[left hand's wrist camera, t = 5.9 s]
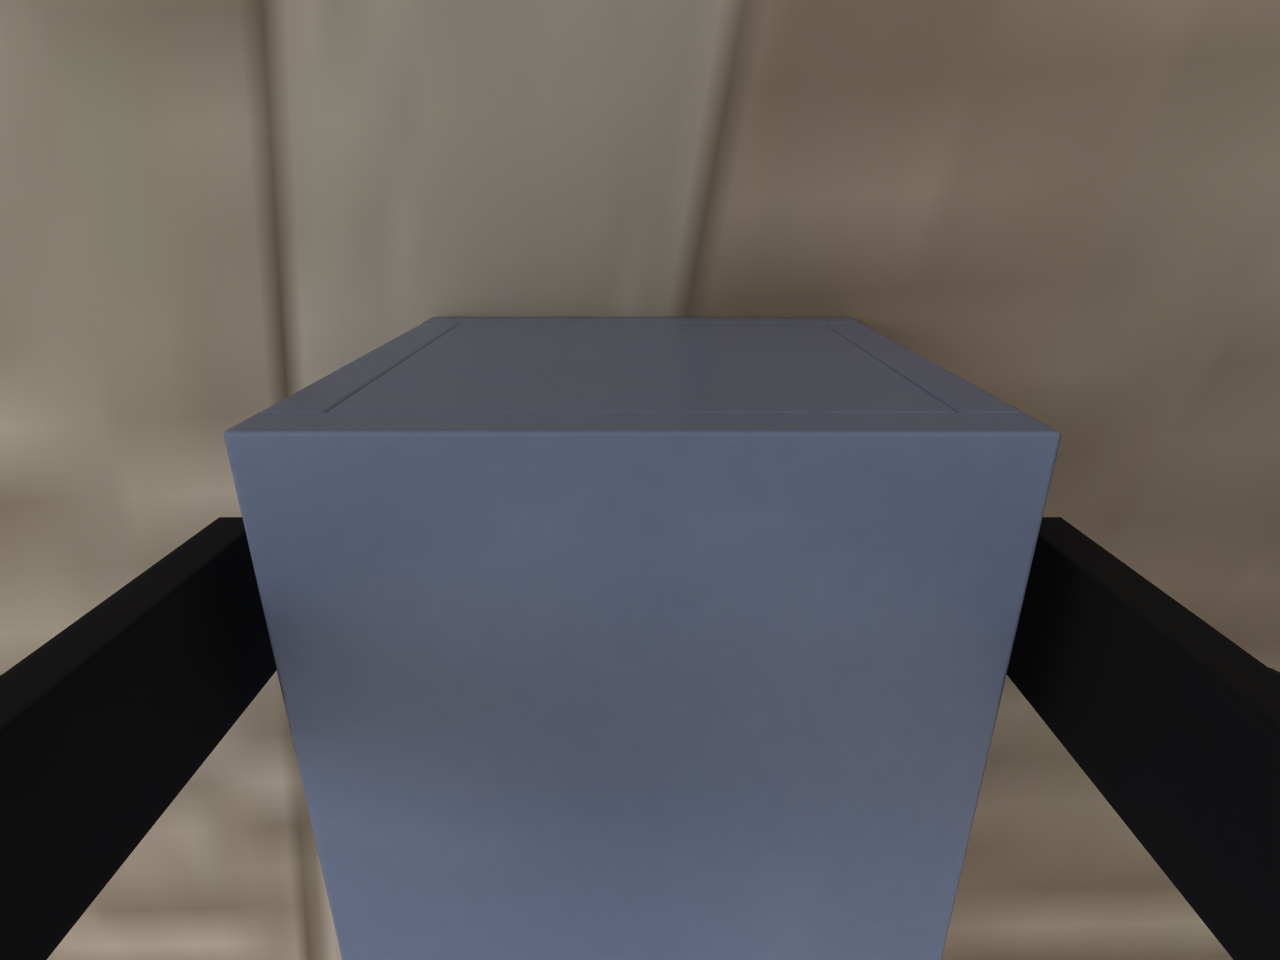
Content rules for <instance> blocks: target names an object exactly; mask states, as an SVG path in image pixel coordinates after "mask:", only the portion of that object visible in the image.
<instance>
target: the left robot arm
mask: <svg viewBox="0 0 1280 960" xmlns="http://www.w3.org/2000/svg"><path fill="white" fill-rule="evenodd" d="M276 670H277V668H276V663H275V659H274V655H273V650H272V646H271V641H270V637H269V633H268V628H267V624H266V619H265V615H264V610H263V606H262V602H261V597H260V593H259V588H258V584H257V579H256V575H255V571H254V566H253V562H252V557H251V553H250V548H249V544H248V540H247V535H246V531H245V526H244V522H243V518H242V517H219V518H218V519H217V520H215V521H214V522H212V523H211V524H210V525H208V526H207V527H206V528H204V529H203V530H201V531H200V532H199V533H197V534H196V535H194V536H193V537H192V538H190V539H189V540H188V541H186V542H185V543H183V544H182V545H181V546H179V547H178V548H177V549H175V550H174V551H172V552H171V553H170V554H168V555H167V556H165V557H164V558H163V559H161V560H160V561H159V562H157V563H156V564H154V565H153V566H152V567H150V568H149V569H148V570H146V571H145V572H143V573H142V574H141V575H139V576H138V577H136V578H135V579H134V580H132V581H131V582H130V583H128V584H127V585H125V586H124V587H123V588H121V589H120V590H119V591H117V592H116V593H114V594H113V595H112V596H110V597H109V598H107V599H106V600H105V601H103V602H102V603H101V604H99V605H98V606H96V607H95V608H94V609H92V610H91V611H90V612H88V613H87V614H85V615H84V616H83V617H81V618H80V619H78V620H77V621H76V622H74V623H73V624H72V625H70V626H69V627H67V628H66V629H65V630H63V631H62V632H61V633H59V634H58V635H56V636H55V637H54V638H52V639H51V640H49V641H48V642H47V643H45V644H44V645H43V646H41V647H40V648H38V649H37V650H36V651H34V652H33V653H32V654H30V655H29V656H27V657H26V658H25V659H23V660H22V661H21V662H19V663H18V664H16V665H15V666H14V667H12V668H11V669H9V670H8V671H7V672H5V673H4V674H2V675H0V960H47V958H48V957H49V956H50V954H51V953H52V952H53V951H54V949H55V948H56V947H57V946H58V944H59V943H60V942H61V941H62V939H63V938H64V937H65V936H66V934H67V933H68V932H69V931H70V929H71V928H72V927H73V926H74V924H75V923H76V922H77V921H78V919H79V918H80V917H81V915H82V914H83V913H84V912H85V910H86V909H87V908H88V907H89V905H90V904H91V903H92V902H93V900H94V899H95V898H96V897H97V895H98V894H99V893H100V892H101V890H102V889H103V888H104V887H105V885H106V884H107V883H108V882H109V880H110V879H111V878H112V876H113V875H114V874H115V873H116V871H117V870H118V869H119V868H120V866H121V865H122V864H123V863H124V861H125V860H126V859H127V858H128V856H129V855H130V854H131V853H132V851H133V850H134V849H135V848H136V846H137V845H138V844H139V843H140V841H141V840H142V839H143V837H144V836H145V835H146V834H147V832H148V831H149V830H150V829H151V827H152V826H153V825H154V824H155V822H156V821H157V820H158V819H159V817H160V816H161V815H162V814H163V812H164V811H165V810H166V809H167V807H168V806H169V805H170V804H171V802H172V801H173V800H174V798H175V797H176V796H177V795H178V793H179V792H180V791H181V790H182V788H183V787H184V786H185V785H186V783H187V782H188V781H189V780H190V778H191V777H192V776H193V775H194V773H195V772H196V771H197V770H198V768H199V767H200V766H201V765H202V763H203V762H204V761H205V759H206V758H207V757H208V756H209V754H210V753H211V752H212V751H213V749H214V748H215V747H216V746H217V744H218V743H219V742H220V741H221V739H222V738H223V737H224V736H225V734H226V733H227V732H228V731H229V729H230V728H231V727H232V726H233V724H234V723H235V722H236V720H237V719H238V718H239V717H240V715H241V714H242V713H243V712H244V710H245V709H246V708H247V707H248V705H249V704H250V703H251V702H252V700H253V699H254V698H255V697H256V695H257V694H258V693H259V692H260V690H261V689H262V688H263V687H264V685H265V684H266V683H267V681H268V680H269V679H270V678H271V676H272V675H273V674H274V673H275V671H276ZM1007 675H1008V676H1009V678H1010V679H1011V680H1012V681H1013V683H1014V684H1015V685H1016V687H1017V688H1018V689H1019V690H1020V692H1021V693H1022V694H1023V695H1024V697H1025V698H1026V699H1027V700H1028V702H1029V703H1030V704H1031V705H1032V707H1033V708H1034V709H1035V710H1036V712H1037V713H1038V714H1039V715H1040V717H1041V718H1042V719H1043V720H1044V722H1045V723H1046V724H1047V726H1048V727H1049V728H1050V729H1051V731H1052V732H1053V733H1054V734H1055V736H1056V737H1057V738H1058V739H1059V741H1060V742H1061V743H1062V744H1063V746H1064V747H1065V748H1066V749H1067V751H1068V752H1069V753H1070V754H1071V756H1072V757H1073V758H1074V759H1075V761H1076V762H1077V763H1078V765H1079V766H1080V767H1081V768H1082V770H1083V771H1084V772H1085V773H1086V775H1087V776H1088V777H1089V778H1090V780H1091V781H1092V782H1093V783H1094V785H1095V786H1096V787H1097V788H1098V790H1099V791H1100V792H1101V793H1102V795H1103V796H1104V797H1105V798H1106V800H1107V801H1108V802H1109V804H1110V805H1111V806H1112V807H1113V809H1114V810H1115V811H1116V812H1117V814H1118V815H1119V816H1120V817H1121V819H1122V820H1123V821H1124V822H1125V824H1126V825H1127V826H1128V827H1129V829H1130V830H1131V831H1132V832H1133V834H1134V835H1135V836H1136V837H1137V839H1138V840H1139V841H1140V843H1141V844H1142V845H1143V846H1144V848H1145V849H1146V850H1147V851H1148V853H1149V854H1150V855H1151V856H1152V858H1153V859H1154V860H1155V861H1156V863H1157V864H1158V865H1159V866H1160V868H1161V869H1162V870H1163V871H1164V873H1165V874H1166V875H1167V876H1168V878H1169V879H1170V880H1171V882H1172V883H1173V884H1174V885H1175V887H1176V888H1177V889H1178V890H1179V892H1180V893H1181V894H1182V895H1183V897H1184V898H1185V899H1186V900H1187V902H1188V903H1189V904H1190V905H1191V907H1192V908H1193V909H1194V910H1195V912H1196V913H1197V914H1198V915H1199V917H1200V918H1201V919H1202V921H1203V922H1204V923H1205V924H1206V926H1207V927H1208V928H1209V929H1210V931H1211V932H1212V933H1213V934H1214V936H1215V937H1216V938H1217V939H1218V941H1219V942H1220V943H1221V944H1222V946H1223V947H1224V948H1225V949H1226V951H1227V952H1228V953H1229V954H1230V956H1231V957H1232V958H1233V960H1280V672H1278V671H1276V670H1274V669H1272V668H1268V667H1266V666H1265V665H1264V664H1262V663H1261V662H1259V661H1258V660H1257V659H1255V658H1254V657H1253V656H1251V655H1250V654H1248V653H1247V652H1246V651H1244V650H1243V649H1242V648H1240V647H1239V646H1237V645H1236V644H1235V643H1233V642H1232V641H1230V640H1229V639H1228V638H1226V637H1225V636H1224V635H1222V634H1221V633H1219V632H1218V631H1217V630H1215V629H1214V628H1213V627H1211V626H1210V625H1208V624H1207V623H1206V622H1204V621H1203V620H1202V619H1200V618H1199V617H1197V616H1196V615H1195V614H1193V613H1192V612H1190V611H1189V610H1188V609H1186V608H1185V607H1184V606H1182V605H1181V604H1179V603H1178V602H1177V601H1175V600H1174V599H1173V598H1171V597H1170V596H1168V595H1167V594H1166V593H1164V592H1163V591H1161V590H1160V589H1159V588H1157V587H1156V586H1155V585H1153V584H1152V583H1150V582H1149V581H1148V580H1146V579H1145V578H1144V577H1142V576H1141V575H1139V574H1138V573H1137V572H1135V571H1134V570H1132V569H1131V568H1130V567H1128V566H1127V565H1126V564H1124V563H1123V562H1121V561H1120V560H1119V559H1117V558H1116V557H1115V556H1113V555H1112V554H1110V553H1109V552H1108V551H1106V550H1105V549H1103V548H1102V547H1101V546H1099V545H1098V544H1097V543H1095V542H1094V541H1092V540H1091V539H1090V538H1088V537H1087V536H1086V535H1084V534H1083V533H1081V532H1080V531H1079V530H1077V529H1076V528H1074V527H1073V526H1072V525H1070V524H1069V523H1068V522H1066V521H1065V520H1063V519H1062V518H1061V517H1042V521H1041V525H1040V529H1039V534H1038V538H1037V543H1036V547H1035V551H1034V556H1033V560H1032V564H1031V569H1030V573H1029V577H1028V582H1027V586H1026V591H1025V595H1024V599H1023V604H1022V608H1021V612H1020V617H1019V621H1018V626H1017V630H1016V634H1015V639H1014V643H1013V647H1012V652H1011V656H1010V661H1009V665H1008V669H1007Z"/></svg>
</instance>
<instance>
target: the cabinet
mask: <svg viewBox="0 0 1280 960" xmlns="http://www.w3.org/2000/svg"><path fill="white" fill-rule="evenodd" d="M224 438H225V442H226V447H227V451H228V456H229V460H230V464H231V469H232V473H233V478H234V482H235V487H236V491H237V495H238V500H239V504H240V509H241V513H242V518H243V522H244V526H245V531H246V535H247V540H248V544H249V548H250V553H251V557H252V562H253V566H254V571H255V575H256V579H257V584H258V588H259V593H260V597H261V602H262V606H263V610H264V615H265V619H266V624H267V628H268V633H269V637H270V641H271V646H272V650H273V655H274V659H275V663H276V668H277V672H278V677H279V681H280V686H281V690H282V694H283V699H284V703H285V708H286V712H287V717H288V721H289V725H290V730H291V734H292V739H293V743H294V748H295V752H296V756H297V761H298V765H299V770H300V774H301V778H302V783H303V787H304V792H305V796H306V801H307V805H308V809H309V814H310V818H311V823H312V827H313V832H314V836H315V840H316V845H317V849H318V854H319V858H320V863H321V867H322V871H323V876H324V880H325V885H326V889H327V893H328V898H329V902H330V907H331V911H332V916H333V920H334V924H335V929H336V933H337V938H338V942H339V947H340V951H341V955H342V960H941V958H942V953H943V949H944V945H945V940H946V936H947V932H948V927H949V923H950V919H951V914H952V910H953V905H954V901H955V897H956V892H957V888H958V884H959V879H960V875H961V870H962V866H963V862H964V857H965V853H966V849H967V844H968V840H969V835H970V831H971V827H972V822H973V818H974V814H975V809H976V805H977V800H978V796H979V792H980V787H981V783H982V779H983V774H984V770H985V765H986V761H987V757H988V752H989V748H990V744H991V739H992V735H993V731H994V726H995V722H996V717H997V713H998V709H999V704H1000V700H1001V696H1002V691H1003V687H1004V682H1005V678H1006V674H1007V669H1008V665H1009V661H1010V656H1011V652H1012V647H1013V643H1014V639H1015V634H1016V630H1017V626H1018V621H1019V617H1020V612H1021V608H1022V604H1023V599H1024V595H1025V591H1026V586H1027V582H1028V577H1029V573H1030V569H1031V564H1032V560H1033V556H1034V551H1035V547H1036V543H1037V538H1038V534H1039V529H1040V525H1041V521H1042V516H1043V512H1044V508H1045V503H1046V499H1047V494H1048V490H1049V486H1050V481H1051V477H1052V473H1053V468H1054V464H1055V459H1056V455H1057V451H1058V446H1059V442H1060V438H1061V435H1060V432H1059V431H1057V430H1055V429H1053V428H1052V427H1050V426H1048V425H1046V424H1044V423H1042V422H1041V421H1039V420H1037V419H1035V418H1033V417H1031V416H1030V415H1028V414H1026V413H1023V412H1022V411H1020V410H1018V409H1016V408H1015V407H1013V406H1011V405H1009V404H1007V403H1005V402H1004V401H1002V400H1000V399H998V398H996V397H995V396H993V395H991V394H989V393H987V392H985V391H984V390H982V389H980V388H978V387H976V386H974V385H973V384H971V383H969V382H967V381H965V380H963V379H962V378H960V377H958V376H956V375H954V374H953V373H951V372H949V371H947V370H945V369H943V368H942V367H940V366H938V365H936V364H934V363H932V362H931V361H929V360H927V359H925V358H923V357H922V356H920V355H918V354H916V353H914V352H912V351H911V350H909V349H907V348H905V347H903V346H901V345H900V344H898V343H896V342H894V341H892V340H890V339H889V338H887V337H885V336H883V335H881V334H880V333H878V332H876V331H874V330H872V329H870V328H869V327H867V326H865V325H863V324H862V323H860V322H859V321H857V320H855V319H853V318H851V317H433V318H431V319H429V320H427V321H425V322H424V323H423V324H421V325H419V326H417V327H415V328H414V329H412V330H410V331H408V332H406V333H404V334H403V335H401V336H399V337H397V338H395V339H393V340H392V341H390V342H388V343H386V344H384V345H383V346H381V347H379V348H377V349H375V350H373V351H372V352H370V353H368V354H366V355H364V356H362V357H361V358H359V359H357V360H355V361H353V362H351V363H350V364H348V365H346V366H344V367H342V368H340V369H339V370H337V371H335V372H333V373H331V374H329V375H328V376H326V377H324V378H322V379H320V380H319V381H317V382H315V383H313V384H311V385H309V386H308V387H306V388H304V389H302V390H300V391H298V392H297V393H295V394H293V395H291V396H289V397H287V398H286V399H284V400H282V401H280V402H278V403H276V404H275V405H273V406H271V407H269V408H267V409H265V410H264V411H262V412H260V413H258V414H256V415H254V416H252V417H250V418H248V419H247V420H245V421H243V422H241V423H239V424H237V425H236V426H234V427H232V428H230V429H228V430H226V431H225V433H224Z"/></svg>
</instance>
